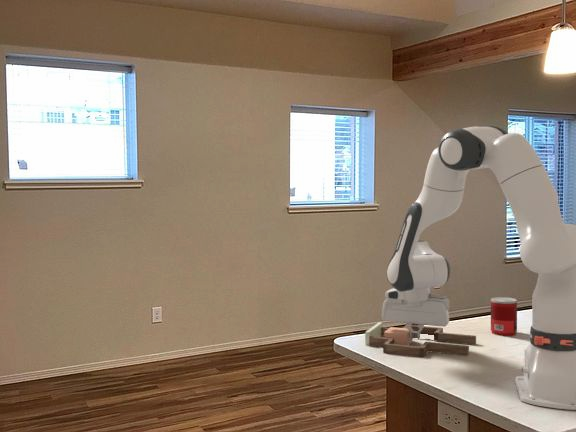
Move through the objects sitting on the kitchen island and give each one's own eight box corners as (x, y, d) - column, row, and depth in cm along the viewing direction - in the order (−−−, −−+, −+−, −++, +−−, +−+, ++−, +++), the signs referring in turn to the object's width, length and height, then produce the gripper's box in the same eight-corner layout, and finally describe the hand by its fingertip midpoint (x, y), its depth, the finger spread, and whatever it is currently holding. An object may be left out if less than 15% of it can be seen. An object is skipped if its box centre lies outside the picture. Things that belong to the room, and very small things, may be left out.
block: (406, 347, 188) (406, 334, 188) (384, 345, 191) (383, 332, 191) (412, 341, 194) (412, 329, 194) (390, 339, 197) (390, 327, 197)
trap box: (464, 361, 172) (464, 347, 172) (358, 349, 186) (358, 336, 185) (479, 338, 195) (479, 326, 195) (384, 330, 208) (384, 318, 208)
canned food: (520, 335, 198) (520, 301, 197) (495, 336, 198) (495, 302, 197) (512, 329, 205) (512, 296, 204) (487, 330, 205) (487, 297, 205)
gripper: (451, 293, 188) (451, 338, 189) (386, 289, 197) (386, 332, 198) (447, 297, 183) (447, 343, 184) (380, 292, 192) (380, 336, 193)
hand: (415, 337), depth 191 cm, fingers closed
